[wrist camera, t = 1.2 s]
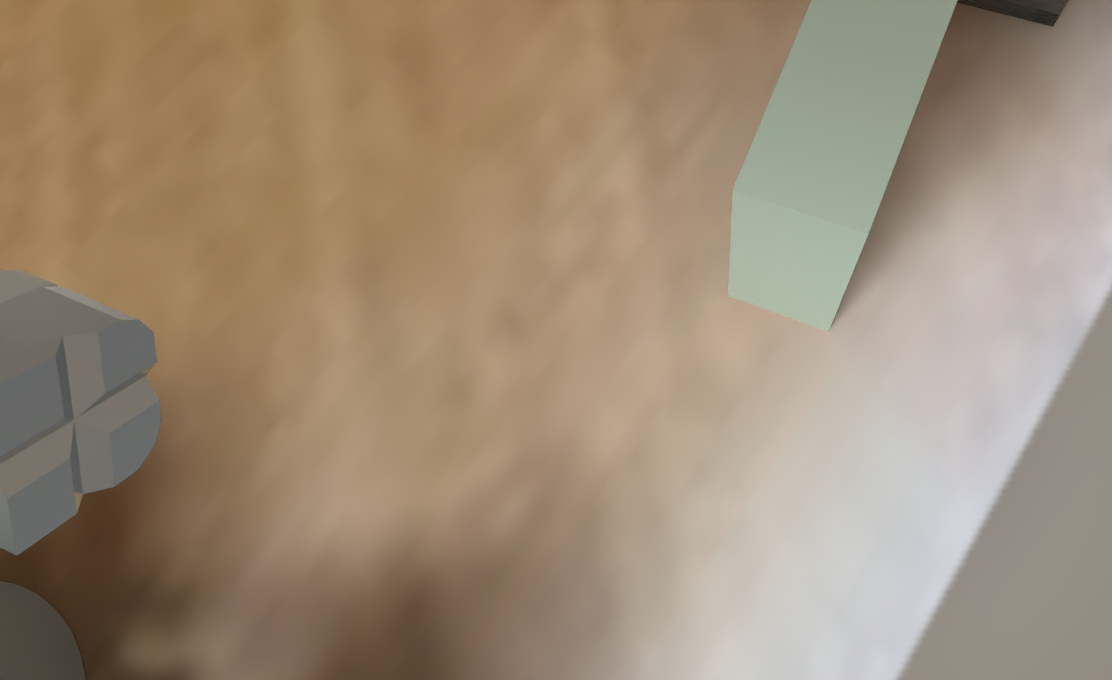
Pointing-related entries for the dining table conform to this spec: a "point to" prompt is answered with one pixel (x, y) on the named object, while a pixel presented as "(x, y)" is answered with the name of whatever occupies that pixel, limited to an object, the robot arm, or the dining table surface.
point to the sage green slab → (829, 151)
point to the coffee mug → (35, 639)
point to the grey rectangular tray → (1024, 8)
